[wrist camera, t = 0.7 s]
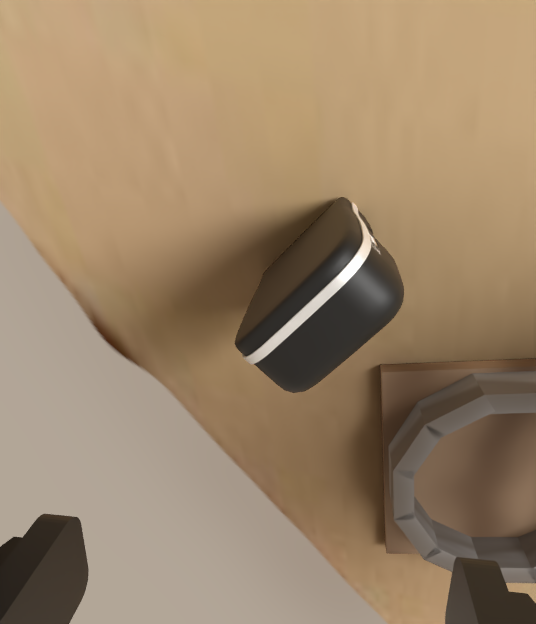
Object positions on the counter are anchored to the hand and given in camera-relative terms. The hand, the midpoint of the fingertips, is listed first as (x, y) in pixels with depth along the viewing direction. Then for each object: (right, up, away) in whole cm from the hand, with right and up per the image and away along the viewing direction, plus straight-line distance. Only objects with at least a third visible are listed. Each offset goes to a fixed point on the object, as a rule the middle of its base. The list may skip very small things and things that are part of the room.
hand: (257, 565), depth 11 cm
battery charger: (+3, +9, +19) cm, 21 cm away
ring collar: (+15, -4, +22) cm, 27 cm away
